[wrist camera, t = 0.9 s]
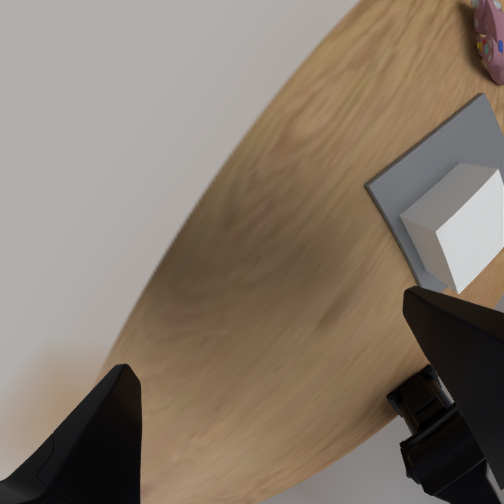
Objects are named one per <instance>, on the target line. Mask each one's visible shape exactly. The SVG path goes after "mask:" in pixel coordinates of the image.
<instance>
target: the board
mask: <svg viewBox="0 0 504 504" xmlns="http://www.w3.org/2000/svg"><path fill="white" fill-rule="evenodd" d="M459 163H462V164H470V165H478V166H484V167H491V168H497V169H499V172H500V175H501V178H502V181H503V184H504V137H503V134H502V132H501V129H500V127H499V124H498V122H497V119H496V117H495V115H494V112H493V110H492V108H491V106H490V104H489V101H488V99H487V97H486V95H485V93H480V94H478V95H477V96H476V97H474V98H473V99H472V100H471V101H469V102H468V103H467V104H466V105H464V106H463V107H462V108H461V109H460V110H458V111H457V112H456V113H455V114H453V115H452V116H451V117H450V118H448V119H447V120H446V121H445V122H443V123H442V124H441V125H440V126H438V127H437V128H436V129H435V130H433V131H432V132H431V133H430V134H428V135H427V136H426V137H425V138H423V139H422V140H421V141H420V142H418V143H417V144H416V145H414V146H413V147H412V148H411V149H409V150H408V151H407V152H406V153H404V154H403V155H402V156H401V157H399V158H398V159H397V160H395V161H394V162H393V163H392V164H390V165H389V166H388V167H386V168H385V169H384V170H383V171H381V172H380V173H379V174H377V175H376V176H375V177H374V178H372V179H371V180H370V181H368V182H367V183H366V184H365V187H366V188H367V190H368V192H369V193H370V195H371V197H372V198H373V200H374V202H375V203H376V205H377V207H378V208H379V210H380V212H381V213H382V215H383V217H384V219H385V220H386V222H387V224H388V226H389V228H390V229H391V231H392V233H393V235H394V237H395V239H396V241H397V242H398V244H399V246H400V248H401V250H402V252H403V254H404V256H405V258H406V260H407V262H408V264H409V266H410V268H411V270H412V272H413V274H414V277H415V279H416V281H417V283H418V285H419V287H422V288H425V289H429V290H432V291H435V292H439V293H441V292H442V291H443V290H444V289H445V288H446V287H447V285H445V284H444V283H443V282H441V281H440V280H438V279H437V278H436V277H434V276H433V275H432V274H430V273H429V272H427V271H426V270H425V268H424V265H423V263H422V261H421V259H420V257H419V254H418V252H417V250H416V248H415V246H414V244H413V242H412V240H411V238H410V236H409V234H408V232H407V230H406V228H405V226H404V224H403V222H402V220H401V218H400V216H399V215H400V214H402V213H403V212H404V211H405V210H406V209H408V208H409V207H410V206H411V205H412V204H414V203H415V202H416V201H417V200H418V199H419V198H421V197H422V196H423V195H424V194H425V193H426V192H427V191H429V190H430V189H431V188H432V187H433V186H434V185H435V184H437V183H438V182H439V181H440V180H441V179H442V178H443V177H444V176H446V175H447V174H448V173H449V172H450V171H451V170H452V169H453V168H454V167H455V166H457V165H458V164H459Z"/></svg>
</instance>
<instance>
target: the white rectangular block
mask: <svg viewBox="0 0 504 504" xmlns="http://www.w3.org/2000/svg"><path fill="white" fill-rule="evenodd" d="M399 216H400V218H401V220H402V222H403V224H404V226H405V228H406V230H407V232H408V234H409V236H410V238H411V240H412V242H413V244H414V246H415V248H416V250H417V252H418V254H419V257H420V259H421V261H422V263H423V265H424V268H425V270H426V271H427V272H429V273H430V274H432V275H433V276H434V277H436V278H437V279H438V280H440V281H441V282H443V283H444V284H445V285H447V286H448V287H449V288H451V289H452V290H453V291H455V292H456V293H457V294H459V293H460V292H461V291H462V290H463V289H465V288H466V287H467V286H468V285H469V284H470V283H471V282H472V281H473V280H474V279H475V277H476V276H477V275H478V274H479V273H480V272H481V271H482V270H483V269H484V268H485V267H486V266H487V265H488V264H489V263H490V262H491V260H492V259H493V258H494V257H495V256H496V255H497V254H498V253H499V251H500V250H501V249H502V248H503V247H504V184H503V181H502V178H501V175H500V172H499V169H497V168H491V167H484V166H478V165H470V164H462V163H459V164H458V165H457V166H455V167H454V168H453V169H452V170H451V171H450V172H449V173H448V174H447V175H446V176H444V177H443V178H442V179H441V180H440V181H439V182H438V183H437V184H435V185H434V186H433V187H432V188H431V189H430V190H429V191H427V192H426V193H425V194H424V195H423V196H422V197H421V198H419V199H418V200H417V201H416V202H415V203H414V204H412V205H411V206H410V207H409V208H408V209H406V210H405V211H404V212H403V213H402V214H400V215H399Z"/></svg>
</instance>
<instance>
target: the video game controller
mask: <svg viewBox="0 0 504 504" xmlns="http://www.w3.org/2000/svg"><path fill="white" fill-rule="evenodd" d="M471 5H472V7H473V8H474V10H475V13H474V22H473V23H474V29H475V31H476V32H478V33H481V34H483V35H486V34H487V35H486V36H485V37H484V38H483V37H480V38H479V39H478V43H477V48H478V53H479V55H480V56H481V57H483V58H484V61H485V63H486V65H487V68H488V71H489V74H490V76H491V78H492V79H493V80H494V81H495V82H496V83H497V84H499V85H504V13H503V11H502V9H501V3H500V2H498V1H496V0H471Z"/></svg>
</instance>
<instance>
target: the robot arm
mask: <svg viewBox="0 0 504 504" xmlns="http://www.w3.org/2000/svg"><path fill="white" fill-rule="evenodd" d="M403 315H404V317H405V319H406V321H407V323H408V325H409V327H410V328H411V330H412V332H413V334H414V336H415V338H416V340H417V342H418V343H419V345H420V347H421V349H422V351H423V352H424V354H425V356H426V357H427V359H428V360H429V362H430V363H431V365H429V366H427V367H426V368H425V369H424V370H422V371H421V372H420V373H418V374H417V375H416V376H414V377H413V378H412V379H410V380H409V381H408V382H406V383H405V384H403V385H402V386H401V387H399V388H398V389H396V390H395V391H393V392H392V393H390V394H389V395H388V396H387V399H388V401H389V402H390V403H391V405H392V406H393V407H394V409H395V410H396V411H397V413H398V414H399V415H400V416H401V417H403V418H404V420H405V422H406V424H407V426H408V427H409V430H410V432H411V433H412V436H411V437H409V438H408V439H406V440H405V441H402V442H401V443H400V447H401V449H400V450H401V454H402V457H403V460H404V463H405V467H406V475H407V477H408V478H412V479H413V480H414V481H415V482H416V483H417V484H421V485H422V487H423V490H424V492H425V493H427V494H429V495H431V496H435V497H437V498H439V499H442V500H444V501H447V502H449V503H450V504H503V503H502V501H501V499H500V498H499V496H498V494H497V492H496V490H495V488H494V486H493V485H492V483H491V481H490V479H489V477H488V475H489V466H490V468H491V471H492V473H493V475H494V477H495V479H496V481H497V483H498V486H499V487H500V489H501V490H502V489H504V313H503V312H499V311H496V310H493V309H490V308H487V307H484V306H481V305H477V304H474V303H471V302H468V301H465V300H461V299H458V298H455V297H452V296H448V295H445V294H442V293H439V292H435V291H432V290H429V289H425V288H422V287H419V286H413V287H410V288H408V289H406V290H405V291H404V298H403ZM434 369H435V370H434ZM435 371H436V372H435ZM436 373H437V374H438V376H439V377H440V379H441V380H442V382H443V383H444V385H445V387H446V388H447V390H448V392H449V393H450V395H451V396H452V398H453V400H454V403H453V404H452V402H451V401H450V400H449V398H448V397H447V395H446V394H445V393H444V391H443V390H442V387H441V385H440V382H439V380H438V377H437V375H436ZM141 441H142V404H141V384H140V381H139V379H138V378H137V376H136V375H135V373H134V372H133V370H132V369H131V367H130V366H129V365H128V364H118V365H115V366H114V367H113V368H112V369H111V370H110V371H109V373H108V374H107V375H106V376H105V377H104V378H103V379H102V380H101V381H100V382H99V383H98V384H97V385H96V386H95V387H94V388H93V390H92V391H91V392H90V393H89V394H88V395H87V396H86V397H85V398H84V399H83V400H82V402H80V404H79V405H78V406H77V407H76V408H75V409H74V410H73V411H72V412H71V413H70V414H69V415H68V417H67V418H66V419H65V420H64V421H63V422H62V423H61V424H60V425H59V427H58V428H57V429H56V430H55V431H54V432H53V434H51V435H50V436H49V437H48V438H47V440H46V441H45V442H44V443H43V444H42V445H41V446H40V447H39V448H38V449H37V450H36V451H35V452H34V453H33V454H32V455H31V456H30V457H29V458H28V459H27V460H26V461H25V462H24V463H23V464H22V465H20V466H19V467H18V468H17V469H16V470H15V471H14V472H13V473H12V474H11V475H10V476H9V477H7V478H6V479H4V480H2V481H0V504H140V468H141Z"/></svg>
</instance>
